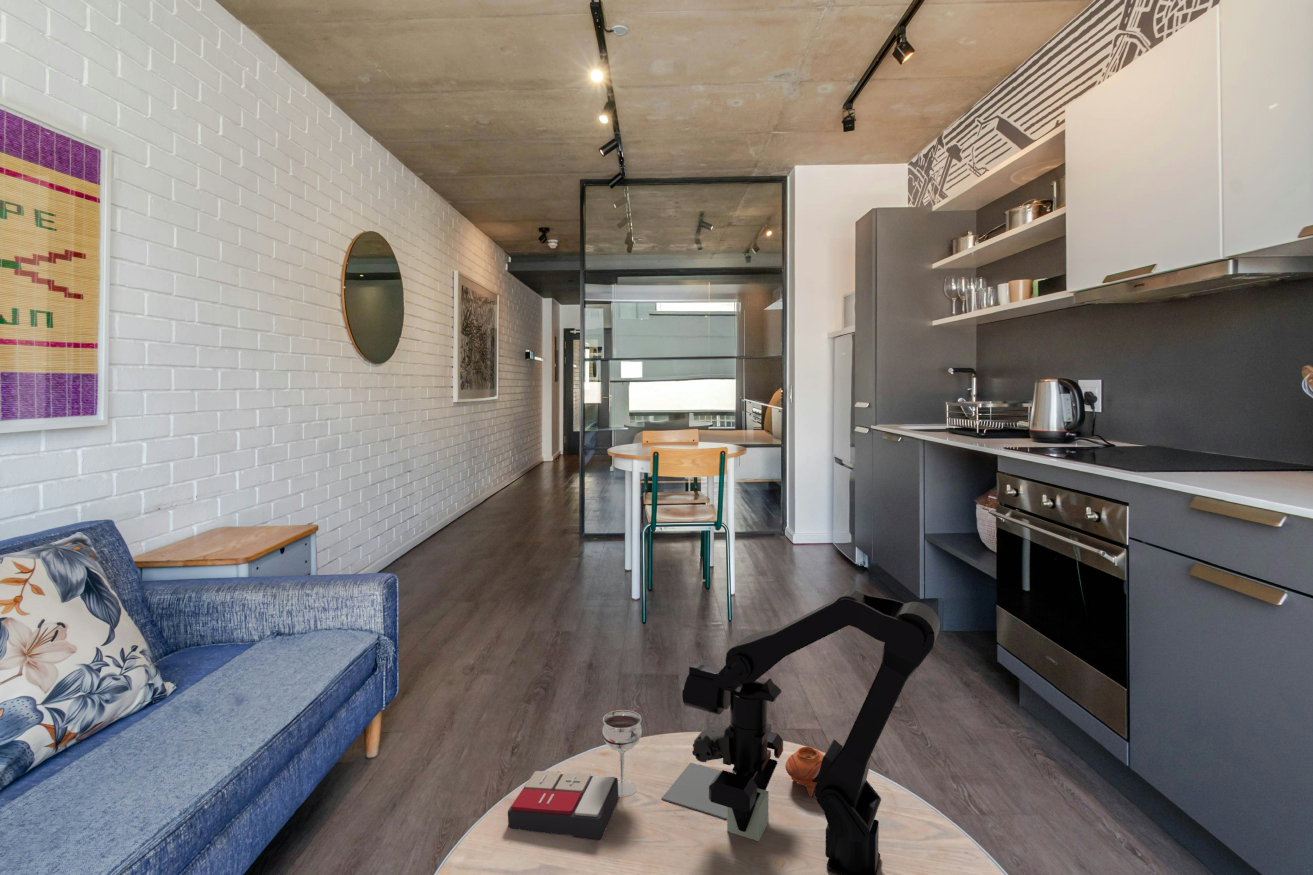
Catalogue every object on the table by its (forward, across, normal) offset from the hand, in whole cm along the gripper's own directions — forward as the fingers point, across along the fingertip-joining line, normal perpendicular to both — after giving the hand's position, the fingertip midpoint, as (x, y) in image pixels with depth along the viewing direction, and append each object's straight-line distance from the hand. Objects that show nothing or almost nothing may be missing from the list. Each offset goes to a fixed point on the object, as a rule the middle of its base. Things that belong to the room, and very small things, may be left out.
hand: (748, 819), depth 95 cm
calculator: (+2, +10, -27) cm, 29 cm away
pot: (+1, -15, +6) cm, 16 cm away
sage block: (+1, 0, 0) cm, 1 cm away
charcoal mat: (+1, -6, -9) cm, 11 cm away
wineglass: (+1, 0, -22) cm, 22 cm away
